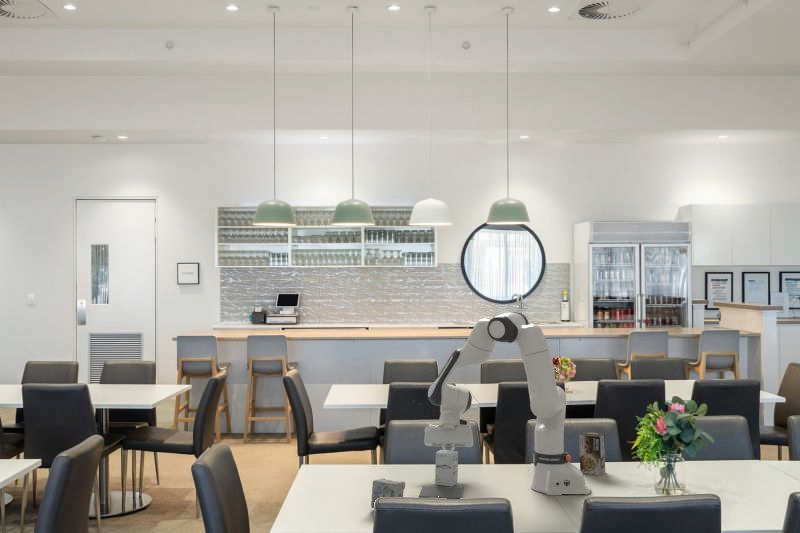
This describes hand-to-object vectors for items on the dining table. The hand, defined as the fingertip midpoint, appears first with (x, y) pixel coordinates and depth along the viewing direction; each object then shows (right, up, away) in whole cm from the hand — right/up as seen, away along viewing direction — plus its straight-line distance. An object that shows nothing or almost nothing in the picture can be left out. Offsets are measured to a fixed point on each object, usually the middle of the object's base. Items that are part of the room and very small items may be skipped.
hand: (447, 454), depth 287 cm
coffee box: (+61, -10, +7) cm, 62 cm away
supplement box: (-1, -10, -8) cm, 13 cm away
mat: (-4, -10, -18) cm, 21 cm away
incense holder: (-24, -10, -37) cm, 45 cm away
